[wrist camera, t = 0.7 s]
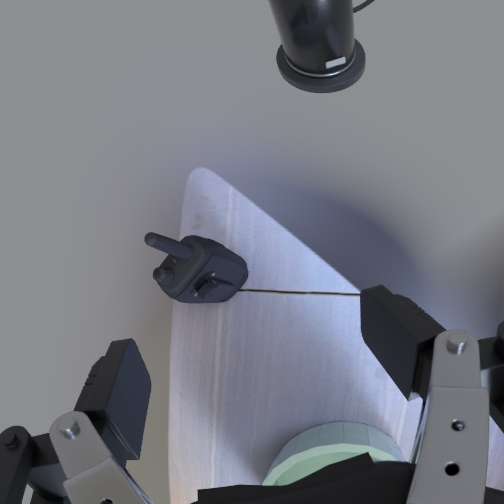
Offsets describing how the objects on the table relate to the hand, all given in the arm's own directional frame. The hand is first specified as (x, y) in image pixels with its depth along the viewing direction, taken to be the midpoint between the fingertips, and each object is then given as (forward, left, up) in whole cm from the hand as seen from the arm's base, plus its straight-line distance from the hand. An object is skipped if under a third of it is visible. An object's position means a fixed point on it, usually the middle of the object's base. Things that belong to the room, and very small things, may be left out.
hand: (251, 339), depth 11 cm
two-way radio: (0, -8, -19) cm, 21 cm away
